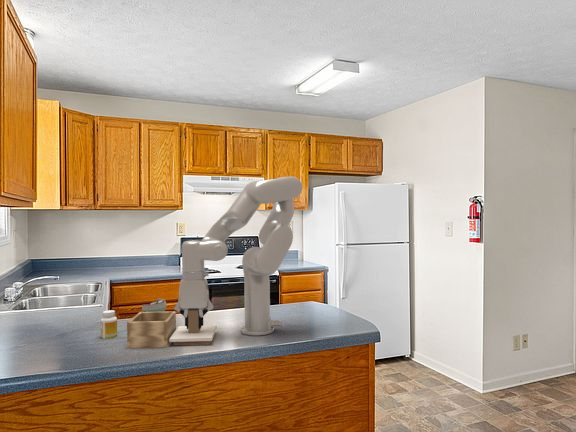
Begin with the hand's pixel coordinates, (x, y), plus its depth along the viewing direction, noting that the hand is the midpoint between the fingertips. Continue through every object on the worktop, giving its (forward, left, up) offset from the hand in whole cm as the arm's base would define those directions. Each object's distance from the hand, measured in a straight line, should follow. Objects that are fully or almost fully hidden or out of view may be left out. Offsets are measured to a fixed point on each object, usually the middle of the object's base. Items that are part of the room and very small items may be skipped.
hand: (194, 327), depth 152 cm
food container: (+17, -18, -5) cm, 25 cm away
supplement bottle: (+31, -5, -5) cm, 32 cm away
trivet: (0, 0, -5) cm, 5 cm away
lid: (0, 0, -3) cm, 3 cm away
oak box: (+14, +1, -5) cm, 15 cm away
